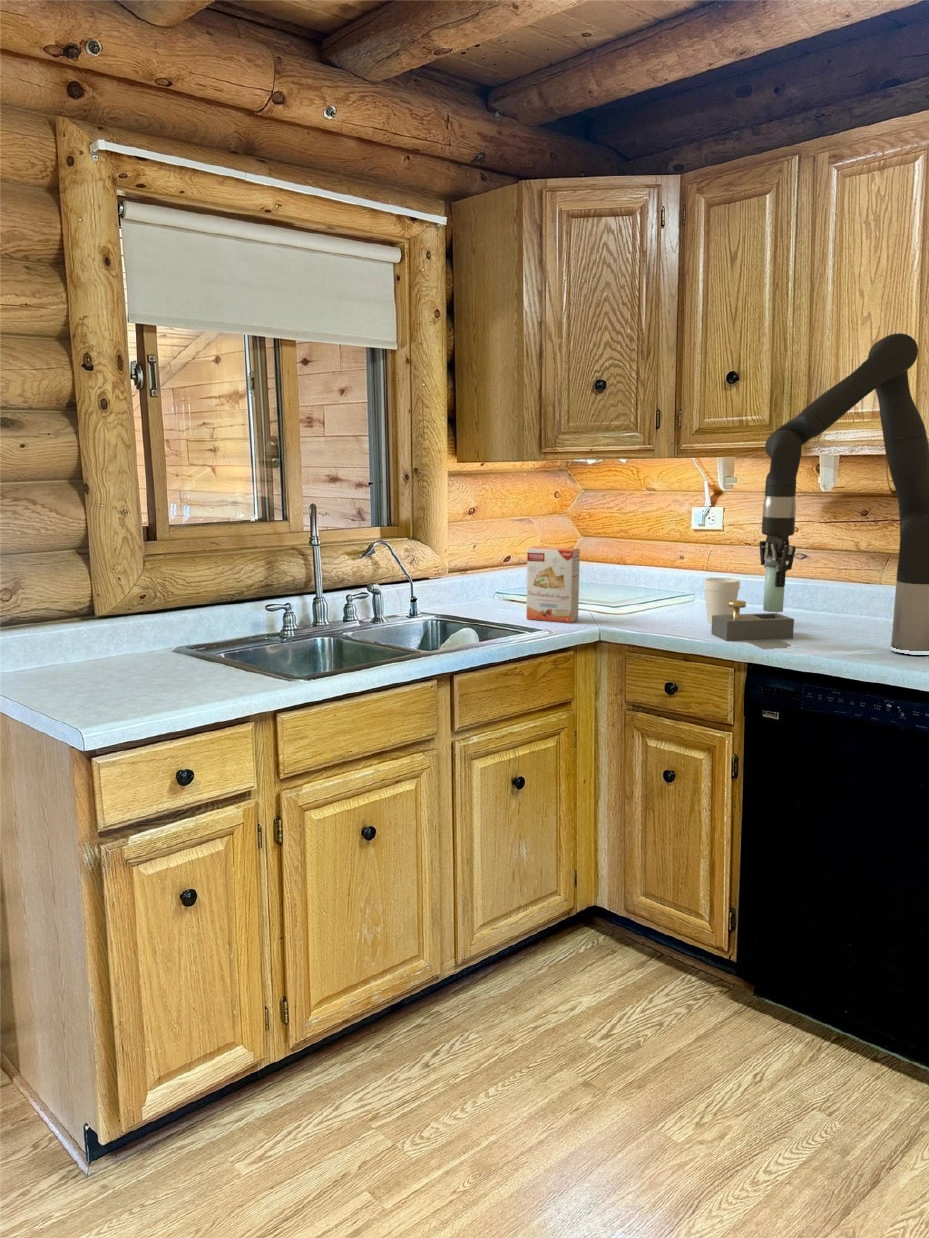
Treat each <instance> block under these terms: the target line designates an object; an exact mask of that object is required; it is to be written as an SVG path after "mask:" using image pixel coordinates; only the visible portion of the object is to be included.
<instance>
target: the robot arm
mask: <svg viewBox="0 0 929 1238" xmlns="http://www.w3.org/2000/svg"><path fill="white" fill-rule="evenodd" d="M918 355H919V346H918V344H917V342H916V340H915V339H914V338H913V336H910V335H909V334H907V333H901V332H900V333H897V332H896V333H892V334H889V335H886V336H884V337H883V338H881V339H879V340H877V342H875V343H874V344H873V345H872V346H871V347H870V349H869V352H868V355H867V359H866V360H865V361H864V362H863V363H862V364H861V365H860V366H858V367H857V368H856V369H855V370H854V371H853V372H851V373H850V374H849V375H848V376H846V377H844V379H842V380H841V381H839V382H838V383H837V384H835V385H833V386H832V387H831V388H829V389H828V390H826V391H825V392H824V393H822V394H821V395H820V396H818V397H817V398H815V400H814V401H812V402H811V403H810V404H809V405H808V406H806V407H804V409H803V410H802V411H801V412H800V413H798V415H796V416H794V418H792V419H790V420H789V421H787V422H785V424H783V425H781V426H780V427H779V428H777V429H776V430H775V431H773V432H772V433H771V434H770V435H769V436H767V437H768V438H767V439H766V440H765V444H764V449H765V452H766V455H767V456H768V457H769V458H770V465H769V467H770V468H769V472H768V473H767V475H766V479H765V488H764V500H763V505H762V519H761V520H762V521H761V534H762V535H764V536H766V538H765V540H760V541H759V556H760V557H759V558H760V565H761V566H763V568H764V569H766V566H765V557H773V561H774V562H776V571H777V572H776V577H775V586H776V587H784V588H785V586H786V577H787V575H786V574H787V572H788V571H789V570H792V567H793V563H794V558H795V554H796V546H794V545H790V540H789V537H790V536H793V535H794V534H795V528H796V510H797V503H796V501H797V500H796V493H797V477H798V476H797V475H798V473H799V469H800V468H799V467H800V465H801V464H800V463H801V458H802V452H803V451H802V450H803V449H802V446H803V445H805V444H806V443H807V442H808V441H810V440H811V439H814V438H816V437H818V436H819V435H821V434H823V433H825V431H826V430H828V429H829V428H830V427H831V426H832V425H834V424H835V423H836V422H837V421H839V420H840V419H841V418H842V417H843V416H845V415H846V414H847V413H848V412H849V411H850V410H851V409H852V408H854V406H856V405H857V404H858V403H860V402H861V401H862V399H864V398H865V397H866V396H868V395H870V394H871V393H872V392H873V391H874V390H875V392H876V396H877V397H876V398H877V400H878V401H877V402H878V407H879V416H880V417H879V418H880V425H881V430H882V437H883V444H884V450H885V457H886V461H887V467H888V470H889V473H890V476H891V480H892V483H893V485H894V486H893V487H894V489H895V492H896V497H897V501H898V502H897V503H898V512H899V513H898V514H899V550H898V551H899V552H898V560H897V561H898V562H897V569H896V582H895V593H894V594H895V596H894V605H893V607H894V609H893V619H892V630H891V631H892V633H891V644H890V648H891V647H893V648H896V649H900V650H909V651H929V442H928V440H929V439H928V435H927V429H926V427H925V424H924V421H923V418H922V416H921V414H920V412H919V410H918V408H917V406H916V404H915V402H914V400H913V398H912V394H911V393H912V392H911V390H910V389H911V388H910V382H909V375H908V374H909V372H908V370H909V369H911V368H912V366H913V365H914V364H915V362H916V361H917V358H918ZM780 562H781V563H780Z"/></svg>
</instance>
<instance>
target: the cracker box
mask: <svg viewBox="0 0 929 1238" xmlns="http://www.w3.org/2000/svg"><path fill="white" fill-rule="evenodd" d="M580 551H581V549H580V548H571V547H558V546H557V547H555V546H537V545H535V546H530V547H527V551H526V552H527V555H526V556H527V557H526V562H527V563H526V619H527V620H535V621H544V622H555V623H562V624H563V623H564V624H565V623H566V624H572V623H574V622H577V621H578V620H579V602H580V601H579V599H580V598H579V597H580V595H579V594H580V553H581V552H580Z"/></svg>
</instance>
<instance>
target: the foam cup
mask: <svg viewBox="0 0 929 1238" xmlns="http://www.w3.org/2000/svg"><path fill="white" fill-rule="evenodd" d="M740 584H741V580H740V579H737V578H731V577H707V578H704V579H703V589H704V596H705V597H704V599H705V607H706V609H705V610H706V618H707V623H708V624H709V625H712V615H732V614H733V607H728V601H731V600H738V594H739V591H740V588H741V587H740V586H741V585H740Z"/></svg>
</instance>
